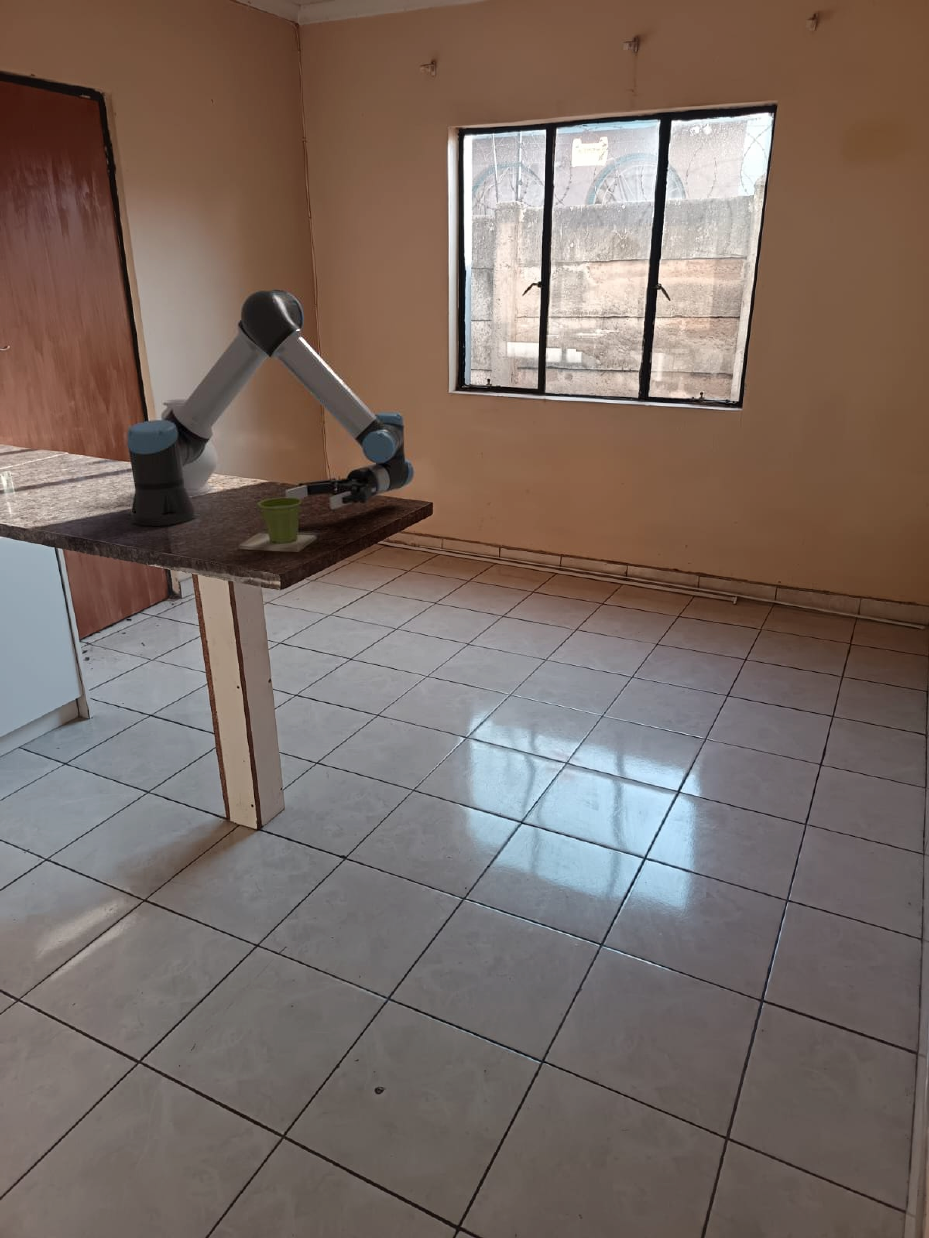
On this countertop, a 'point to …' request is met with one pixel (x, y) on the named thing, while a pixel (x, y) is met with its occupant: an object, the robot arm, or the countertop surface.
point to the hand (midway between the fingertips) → (308, 499)
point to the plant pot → (281, 518)
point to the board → (264, 543)
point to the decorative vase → (196, 461)
